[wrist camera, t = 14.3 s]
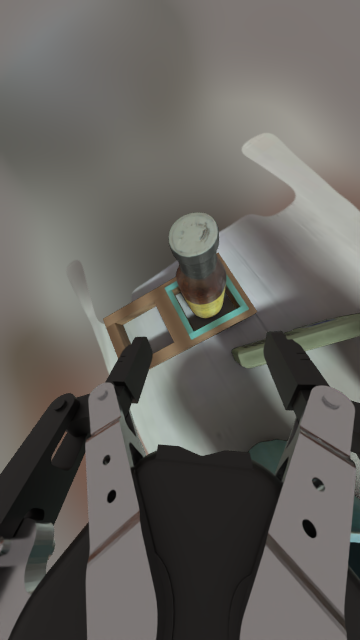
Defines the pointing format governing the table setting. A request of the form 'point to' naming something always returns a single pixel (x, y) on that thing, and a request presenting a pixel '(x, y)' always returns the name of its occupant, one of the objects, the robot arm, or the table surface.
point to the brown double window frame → (177, 317)
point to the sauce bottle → (198, 263)
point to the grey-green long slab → (304, 338)
